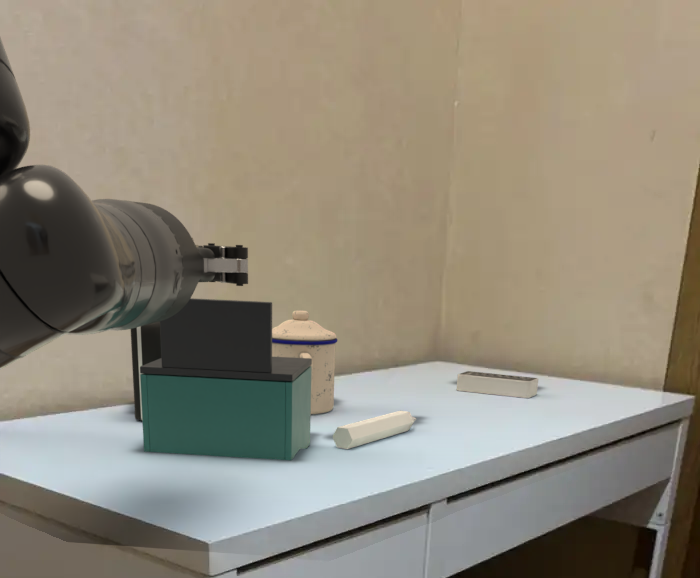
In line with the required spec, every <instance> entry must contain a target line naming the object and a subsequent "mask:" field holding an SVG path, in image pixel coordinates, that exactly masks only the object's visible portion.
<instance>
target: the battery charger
mask: <svg viewBox="0 0 700 578" xmlns="http://www.w3.org/2000/svg"><path fill="white" fill-rule="evenodd" d="M130 345H131V346H130V347H131V348H130V349H131V366H132V367H131V368H132V384H133V385H132V386H133V400H134V402H133V403H134V404H133V405H134V406H133V407H134V418H135V420H138V421H139V420H140V421H142V400H141V380H140V375H141V374H143V373H140V366H143V365H145V364H148V363H150V362H153V361H155V360H158V359H160V358H161V334H160V321H159V322H155V323H151V324H148V325H144V326H140V327H136V328H132V329H130Z"/></svg>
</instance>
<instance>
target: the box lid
mask: <svg viewBox="0 0 700 578" xmlns="http://www.w3.org/2000/svg"><path fill="white" fill-rule="evenodd" d="M272 328H273V302H272V301H257V300H256V301H255V300H254V301H253V300H238V299H237V300H236V299H235V300H233V299H216V298H215V299H213V298H194V297H193V298H192V297H191V298H190V300H189V301H188V303H187V304H186V305H185V306H184V307H183V308H182V309H181V310H180V311H179V312H178V313H177V314H175V315H174V316H172V317H170V318H168V319H165V320H162V321H160V334H161V358H160V359H158V360H155V361H153V362H150V363H148V364H145V365H143V366H140V373H145V374H164V375H183V376H202V377H220V378H239V379H258V380H277V381H293V380H294V379H295V378H296V377H298V376H299V375H300V374H301V373H302V372H303V371H305V370H306V369H307V368H308V367H309V366H310V365H311V364H312V359H310V358H290V357H272Z"/></svg>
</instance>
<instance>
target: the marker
mask: <svg viewBox="0 0 700 578" xmlns="http://www.w3.org/2000/svg"><path fill="white" fill-rule="evenodd" d="M416 420H417V417H414V416H412V414H411V412H410V411H405V410H397V411H394V412H389V413H386V414H383V415H378V416H374V417H371V418H367V419H364V420H360V421H359V420H358V421H356V422H351V423H348V424H343V425H340V426H337V427H336V428H335V430H334V433H333V434H332V437H331V438H332V440H333V442H334V444H335V447H336V449H337V448H338V449H342V450H349V449H352V448H357V447H359V446H362V445H366V444H370V443H373V442H376V441H379V440H382V439H385V438H389V437H392V436H396V435H399V434H402V433H406V432H409V431H410V429H411V427H412V426H413V424H414V423H415V421H416Z"/></svg>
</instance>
